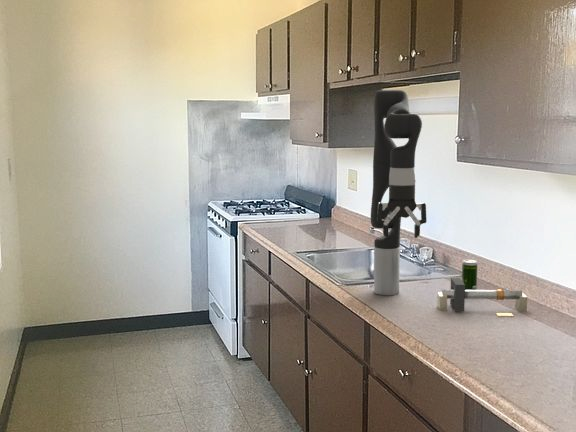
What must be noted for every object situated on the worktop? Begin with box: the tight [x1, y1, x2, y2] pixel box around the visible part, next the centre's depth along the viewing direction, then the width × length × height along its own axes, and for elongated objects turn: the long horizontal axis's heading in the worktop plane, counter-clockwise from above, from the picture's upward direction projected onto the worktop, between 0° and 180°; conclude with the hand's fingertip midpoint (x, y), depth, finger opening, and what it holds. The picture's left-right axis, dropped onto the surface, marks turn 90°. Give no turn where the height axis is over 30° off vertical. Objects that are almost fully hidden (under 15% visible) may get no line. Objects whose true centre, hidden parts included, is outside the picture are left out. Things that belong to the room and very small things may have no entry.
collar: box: [449, 277, 466, 312], centre depth 217 cm, size 3×9×9 cm, turn 176°
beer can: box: [461, 259, 478, 290], centre depth 236 cm, size 5×5×12 cm
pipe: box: [436, 288, 528, 318], centre depth 214 cm, size 28×11×7 cm, turn 86°
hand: (401, 237), depth 191 cm, fingers open, 8 cm apart
